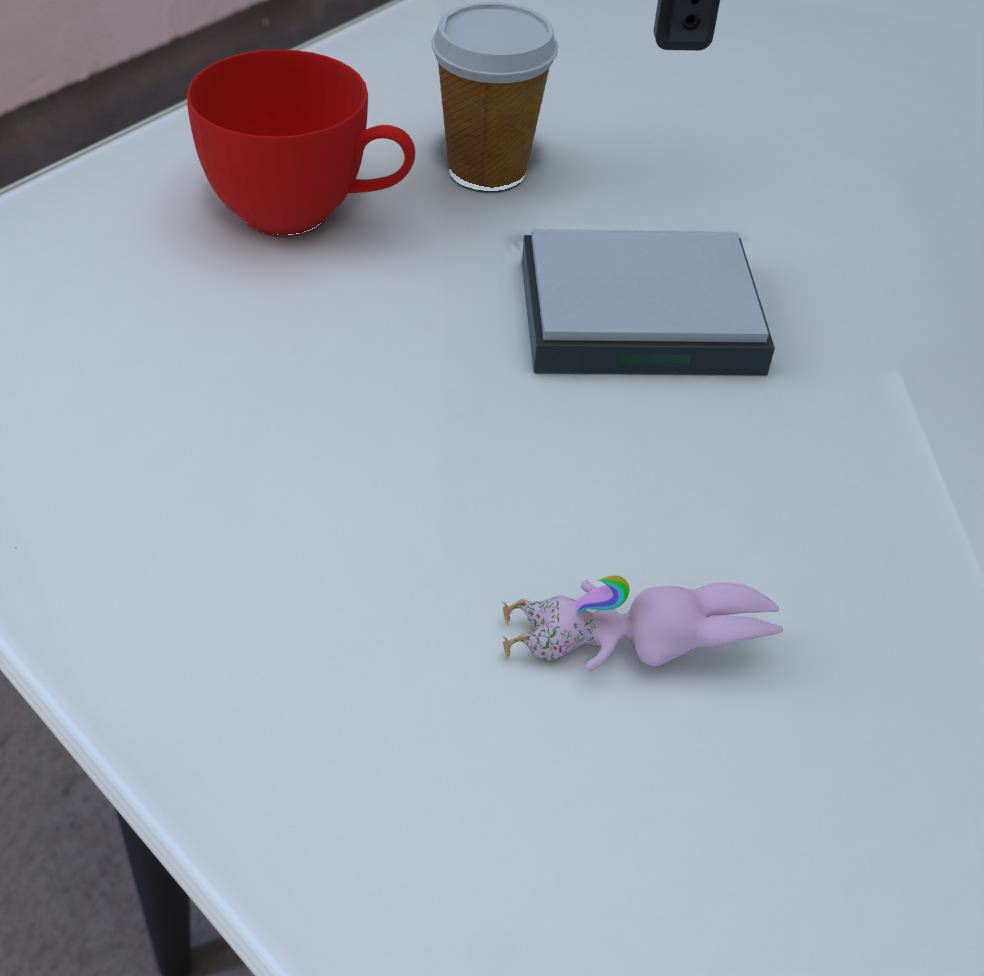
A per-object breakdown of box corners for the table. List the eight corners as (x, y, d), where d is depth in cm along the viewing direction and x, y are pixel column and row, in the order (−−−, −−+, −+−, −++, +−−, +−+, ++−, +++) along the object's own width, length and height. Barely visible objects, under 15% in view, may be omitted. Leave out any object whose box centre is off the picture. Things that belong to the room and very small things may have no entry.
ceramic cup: (382, 288, 95) (382, 164, 87) (170, 239, 98) (153, 116, 91) (440, 196, 103) (444, 77, 96) (243, 154, 107) (233, 36, 99)
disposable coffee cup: (471, 129, 110) (478, -12, 102) (568, 166, 107) (583, 23, 98) (404, 177, 105) (406, 32, 96) (503, 217, 101) (514, 71, 93)
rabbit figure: (507, 700, 71) (788, 684, 70) (495, 631, 67) (794, 611, 65) (506, 612, 76) (771, 595, 74) (495, 542, 71) (776, 522, 70)
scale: (734, 264, 98) (743, 227, 96) (767, 375, 89) (778, 338, 87) (521, 261, 97) (524, 224, 95) (533, 373, 89) (537, 335, 86)
